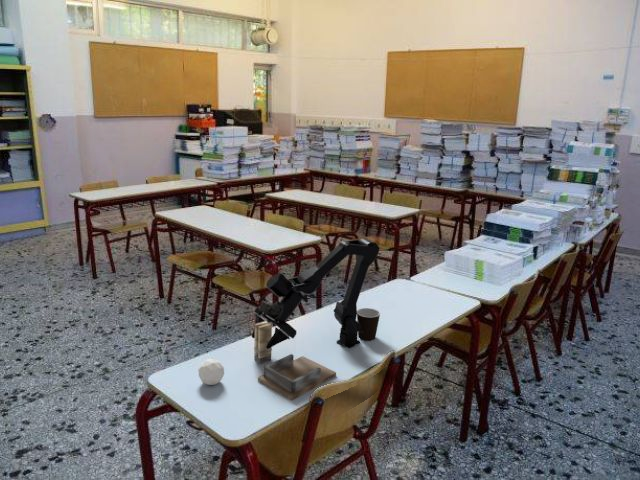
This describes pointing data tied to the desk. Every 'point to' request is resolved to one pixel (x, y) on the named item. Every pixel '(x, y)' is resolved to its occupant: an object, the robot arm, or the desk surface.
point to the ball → (211, 371)
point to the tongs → (262, 342)
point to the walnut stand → (294, 376)
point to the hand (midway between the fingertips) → (259, 342)
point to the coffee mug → (368, 323)
